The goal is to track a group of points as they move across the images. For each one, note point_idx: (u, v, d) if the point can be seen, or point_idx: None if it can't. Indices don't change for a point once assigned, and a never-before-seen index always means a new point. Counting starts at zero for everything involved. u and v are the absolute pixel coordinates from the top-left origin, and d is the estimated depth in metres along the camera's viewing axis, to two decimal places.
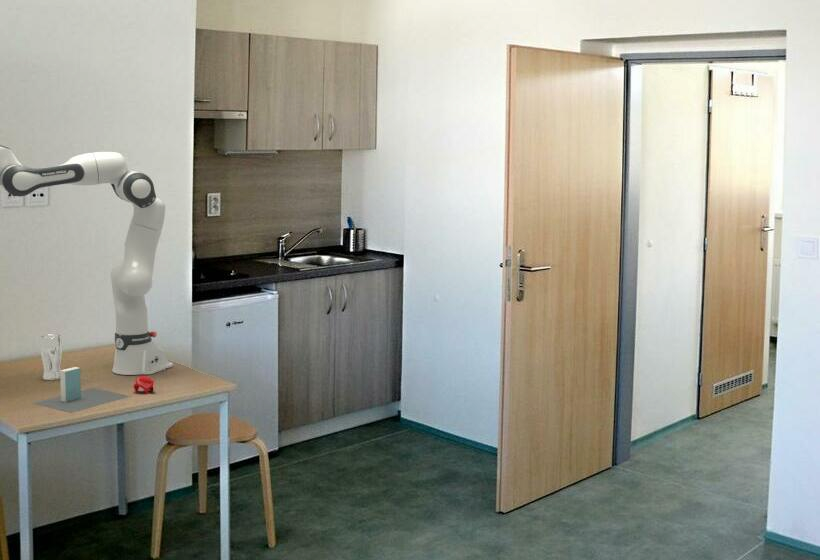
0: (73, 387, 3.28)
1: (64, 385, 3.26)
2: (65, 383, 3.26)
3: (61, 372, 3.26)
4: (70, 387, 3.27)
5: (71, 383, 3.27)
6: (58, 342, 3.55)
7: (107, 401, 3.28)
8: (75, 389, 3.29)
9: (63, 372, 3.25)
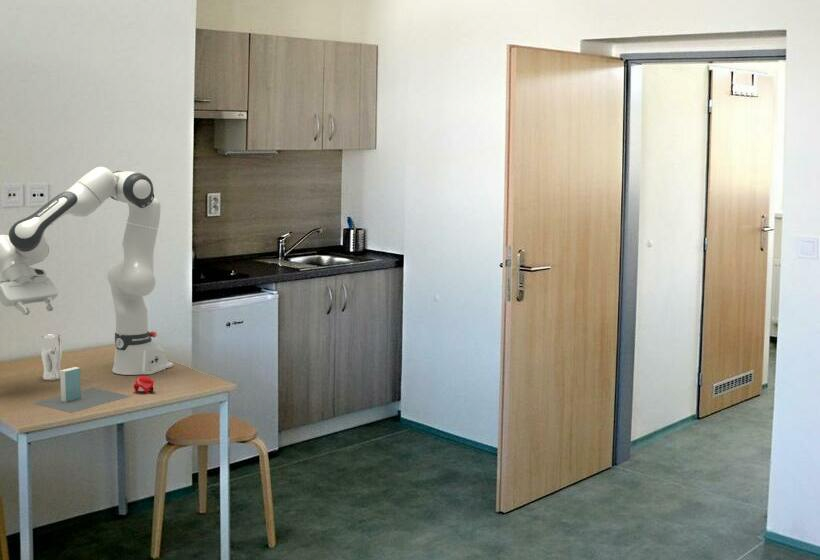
0: (73, 387, 3.28)
1: (64, 385, 3.26)
2: (65, 383, 3.26)
3: (61, 372, 3.26)
4: (70, 387, 3.27)
5: (71, 383, 3.27)
6: (58, 342, 3.55)
7: (107, 401, 3.28)
8: (75, 389, 3.29)
9: (63, 372, 3.25)
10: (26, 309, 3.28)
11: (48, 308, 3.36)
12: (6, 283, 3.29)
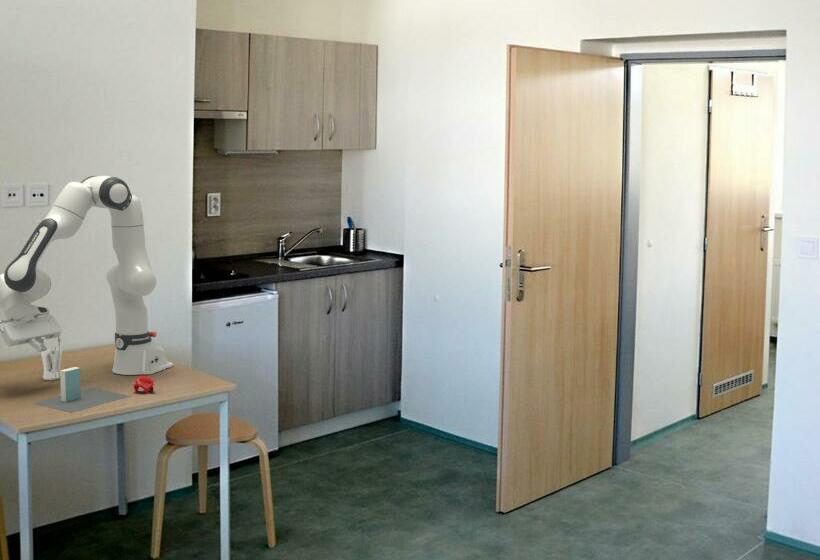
0: (73, 387, 3.28)
1: (64, 385, 3.26)
2: (65, 383, 3.26)
3: (61, 372, 3.26)
4: (70, 387, 3.27)
5: (71, 383, 3.27)
6: (58, 342, 3.55)
7: (107, 401, 3.28)
8: (75, 389, 3.29)
9: (63, 372, 3.25)
10: (40, 346, 3.33)
11: None
12: (9, 323, 3.30)
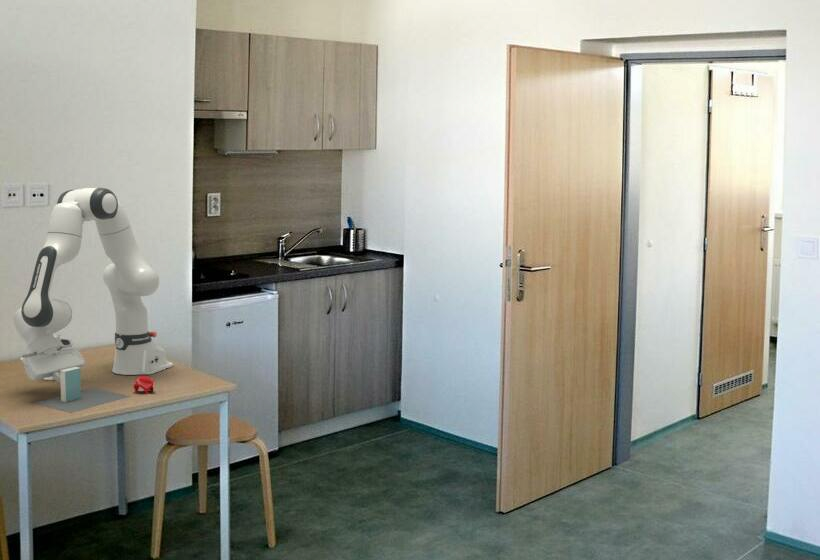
0: (73, 387, 3.28)
1: (64, 385, 3.26)
2: (65, 383, 3.26)
3: (61, 372, 3.26)
4: (70, 387, 3.27)
5: (71, 383, 3.27)
6: None
7: (107, 401, 3.28)
8: (75, 389, 3.29)
9: (63, 372, 3.25)
10: None
11: None
12: (33, 356, 3.26)
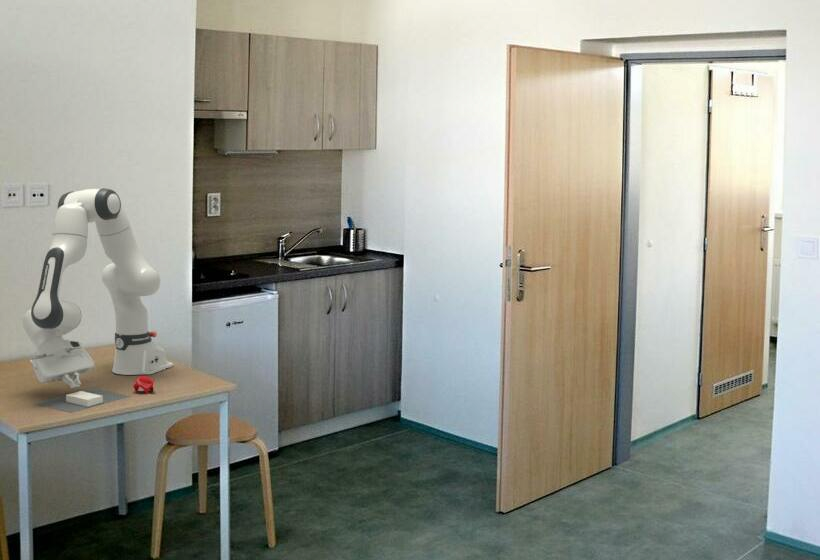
0: None
1: (77, 402, 3.23)
2: (79, 404, 3.23)
3: (86, 401, 3.21)
4: None
5: None
6: None
7: (107, 401, 3.28)
8: None
9: (86, 404, 3.21)
10: (73, 382, 3.27)
11: None
12: (42, 358, 3.24)
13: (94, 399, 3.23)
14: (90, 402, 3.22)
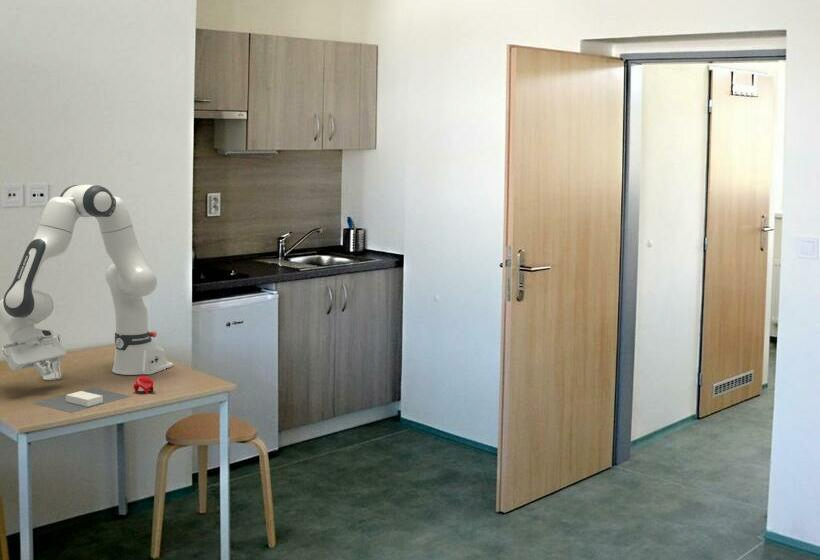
0: None
1: (77, 402, 3.23)
2: (79, 404, 3.23)
3: (86, 401, 3.21)
4: None
5: None
6: None
7: (107, 401, 3.28)
8: None
9: (86, 404, 3.21)
10: (45, 370, 3.33)
11: None
12: (14, 347, 3.30)
13: (94, 399, 3.23)
14: (90, 402, 3.22)
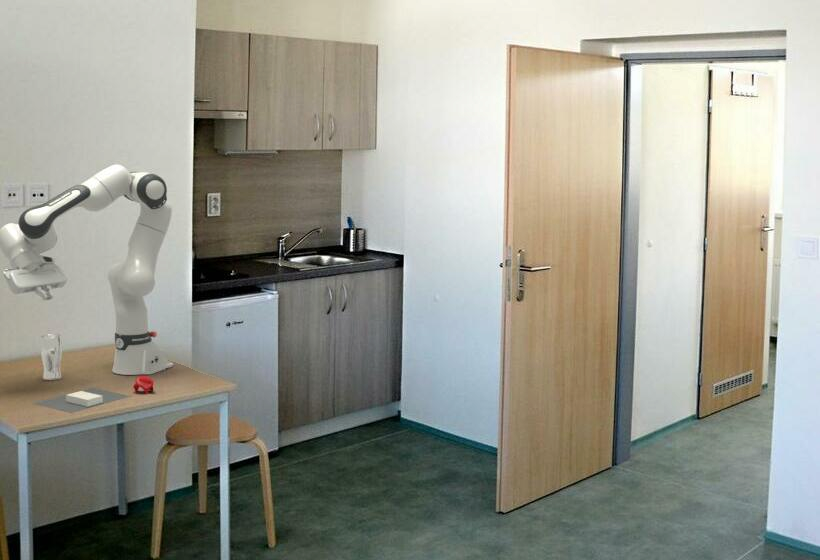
0: None
1: (77, 402, 3.23)
2: (79, 404, 3.23)
3: (86, 401, 3.21)
4: None
5: None
6: (58, 342, 3.55)
7: (107, 401, 3.28)
8: None
9: (86, 404, 3.21)
10: (46, 294, 3.35)
11: None
12: (15, 270, 3.32)
13: (94, 399, 3.23)
14: (90, 402, 3.22)
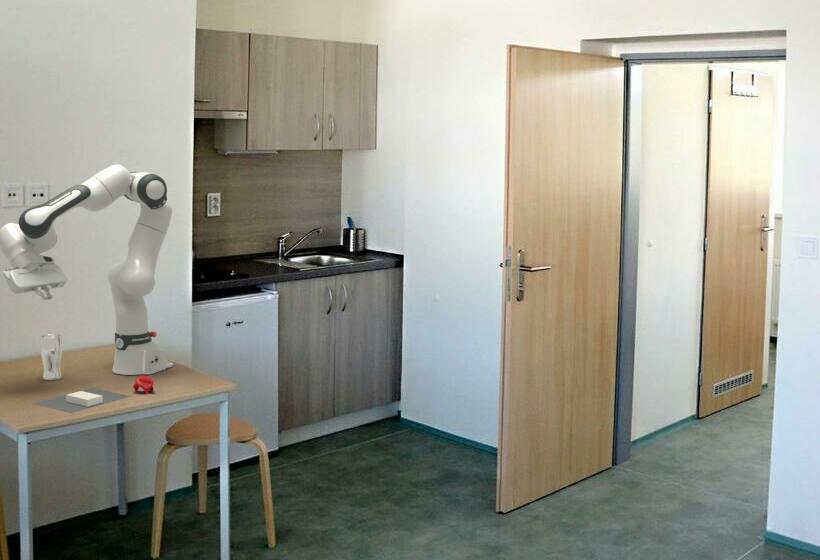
0: None
1: (77, 402, 3.23)
2: (79, 404, 3.23)
3: (86, 401, 3.21)
4: None
5: None
6: (58, 342, 3.55)
7: (107, 401, 3.28)
8: None
9: (86, 404, 3.21)
10: (46, 294, 3.35)
11: None
12: (15, 270, 3.32)
13: (94, 399, 3.23)
14: (90, 402, 3.22)
